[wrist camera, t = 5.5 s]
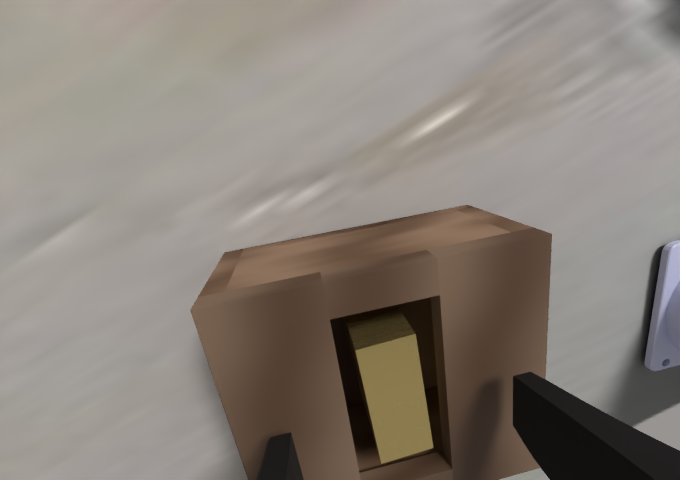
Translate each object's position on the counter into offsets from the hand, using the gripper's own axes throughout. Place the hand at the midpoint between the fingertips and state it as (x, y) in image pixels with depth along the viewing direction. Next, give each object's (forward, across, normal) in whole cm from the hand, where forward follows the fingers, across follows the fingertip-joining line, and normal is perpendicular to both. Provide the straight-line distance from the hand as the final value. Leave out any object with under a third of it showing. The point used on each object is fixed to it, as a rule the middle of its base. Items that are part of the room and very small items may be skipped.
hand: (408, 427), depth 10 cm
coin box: (+6, 0, 0) cm, 6 cm away
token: (+6, 0, 0) cm, 6 cm away
